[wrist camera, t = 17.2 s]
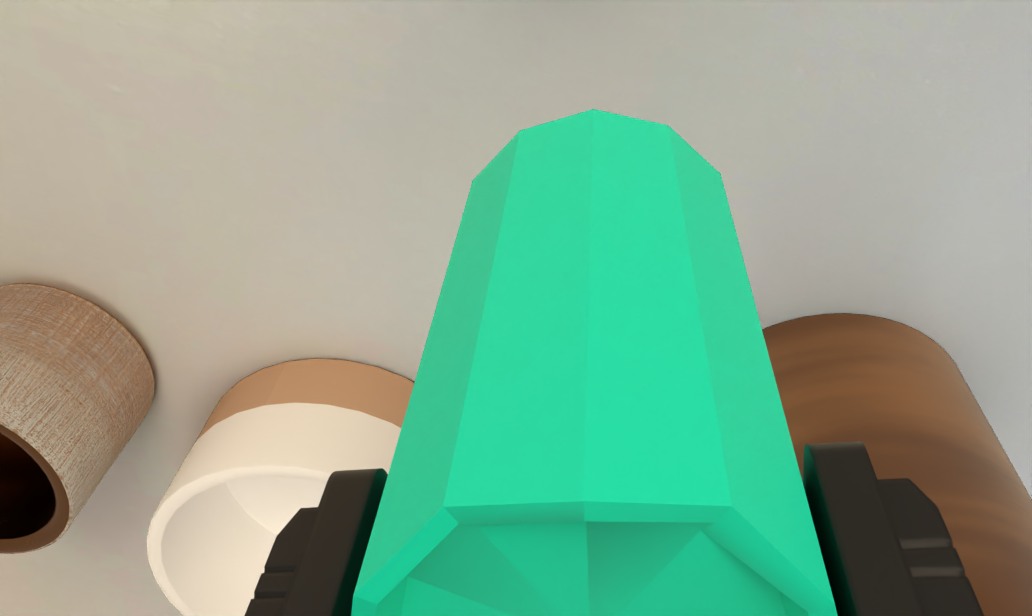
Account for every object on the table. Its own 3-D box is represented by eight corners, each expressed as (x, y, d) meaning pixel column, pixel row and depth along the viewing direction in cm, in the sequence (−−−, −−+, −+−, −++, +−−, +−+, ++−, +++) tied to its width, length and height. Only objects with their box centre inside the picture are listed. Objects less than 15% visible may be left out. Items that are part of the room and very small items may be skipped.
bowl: (525, 408, 47) (512, 524, 40) (447, 588, 57) (426, 706, 50) (222, 318, 45) (154, 424, 38) (195, 520, 55) (136, 633, 48)
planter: (153, 449, 51) (71, 579, 43) (-28, 397, 50) (-146, 521, 42) (167, 313, 45) (76, 435, 37) (-39, 250, 44) (-178, 363, 36)
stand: (672, 326, 43) (708, 625, 29) (986, 299, 41) (1197, 611, 26) (687, 524, 51) (722, 834, 37) (949, 512, 49) (1095, 838, 34)
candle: (781, 278, 19) (981, 889, 9) (554, 382, 21) (511, 963, 11) (649, 52, 16) (724, 559, 6) (406, 199, 18) (180, 742, 9)
